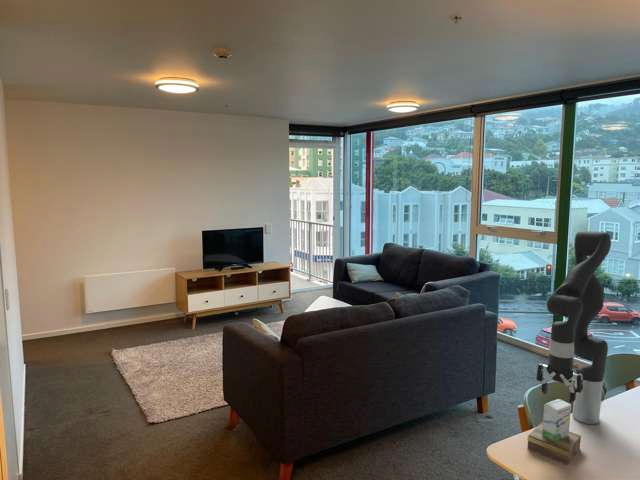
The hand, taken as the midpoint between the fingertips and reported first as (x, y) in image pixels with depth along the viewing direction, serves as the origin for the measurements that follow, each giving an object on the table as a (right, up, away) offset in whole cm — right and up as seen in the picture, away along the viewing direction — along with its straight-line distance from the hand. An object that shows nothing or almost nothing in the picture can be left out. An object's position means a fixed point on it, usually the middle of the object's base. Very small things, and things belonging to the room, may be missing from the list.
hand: (558, 397), depth 162 cm
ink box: (0, -14, +2) cm, 14 cm away
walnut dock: (0, -19, +3) cm, 19 cm away
